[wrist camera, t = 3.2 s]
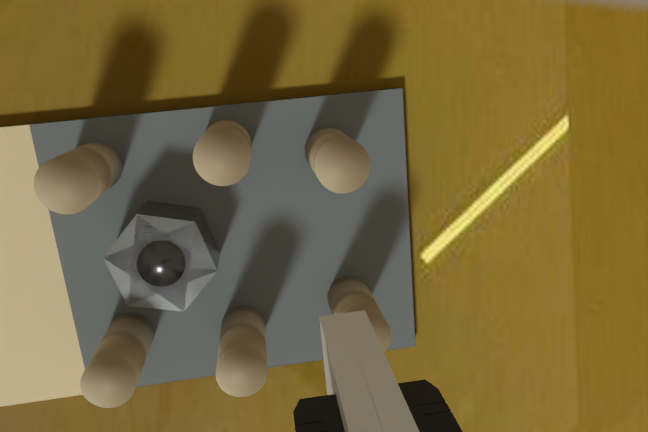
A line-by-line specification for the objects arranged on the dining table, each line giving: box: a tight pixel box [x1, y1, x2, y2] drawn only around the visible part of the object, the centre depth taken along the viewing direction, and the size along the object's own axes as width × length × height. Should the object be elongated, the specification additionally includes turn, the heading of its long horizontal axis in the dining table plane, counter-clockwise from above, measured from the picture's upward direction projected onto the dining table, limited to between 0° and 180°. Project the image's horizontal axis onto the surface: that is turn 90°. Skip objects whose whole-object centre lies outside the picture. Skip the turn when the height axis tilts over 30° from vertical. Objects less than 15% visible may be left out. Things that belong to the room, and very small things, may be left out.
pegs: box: [34, 119, 391, 408], centre depth 29 cm, size 16×14×6 cm
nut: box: [103, 201, 220, 312], centre depth 30 cm, size 5×6×3 cm
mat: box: [0, 88, 415, 407], centre depth 32 cm, size 30×16×1 cm, turn 95°
